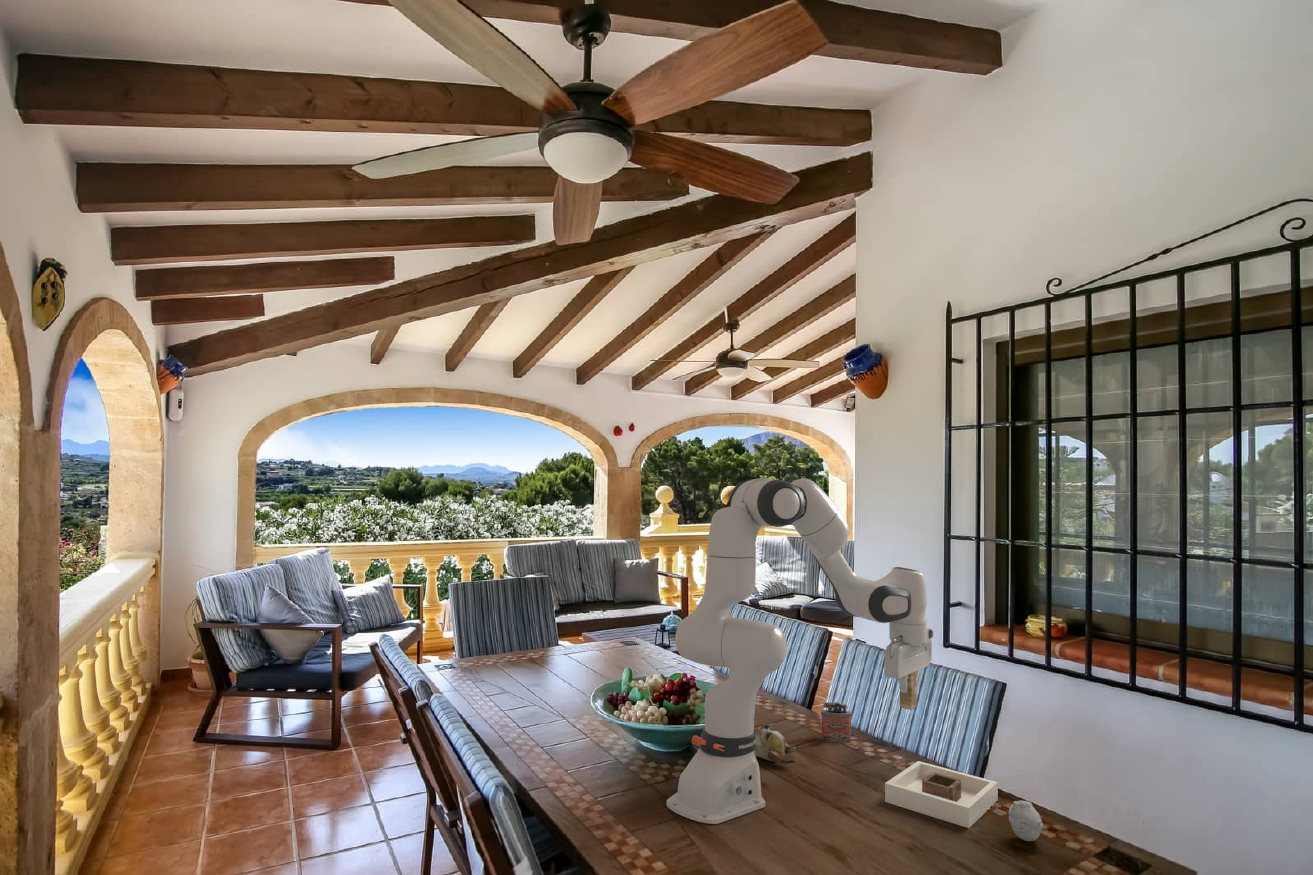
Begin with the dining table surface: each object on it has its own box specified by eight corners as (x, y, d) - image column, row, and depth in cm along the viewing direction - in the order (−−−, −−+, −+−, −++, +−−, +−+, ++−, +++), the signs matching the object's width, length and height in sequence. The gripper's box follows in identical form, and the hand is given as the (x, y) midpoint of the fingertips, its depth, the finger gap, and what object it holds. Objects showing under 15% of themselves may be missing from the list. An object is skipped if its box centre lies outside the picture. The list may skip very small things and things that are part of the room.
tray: (968, 828, 152) (968, 805, 152) (885, 801, 164) (884, 780, 164) (997, 800, 165) (997, 779, 166) (918, 778, 177) (918, 758, 178)
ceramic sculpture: (744, 714, 196) (801, 724, 191) (742, 747, 196) (799, 758, 191) (735, 727, 186) (795, 738, 181) (733, 762, 186) (793, 774, 181)
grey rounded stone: (1031, 830, 151) (1030, 795, 152) (1050, 848, 144) (1050, 811, 145) (1001, 831, 151) (1001, 795, 151) (1019, 848, 144) (1019, 811, 144)
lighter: (850, 738, 204) (850, 701, 205) (852, 742, 201) (852, 705, 201) (820, 737, 205) (820, 700, 205) (821, 741, 202) (821, 703, 202)
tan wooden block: (911, 710, 182) (911, 668, 182) (899, 707, 184) (899, 666, 184) (916, 707, 184) (916, 666, 184) (904, 704, 186) (904, 664, 186)
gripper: (902, 641, 175) (902, 701, 174) (936, 629, 190) (936, 685, 189) (877, 637, 179) (877, 696, 178) (912, 626, 194) (912, 680, 194)
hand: (908, 690), depth 184 cm, fingers closed on tan wooden block, 3 cm apart
